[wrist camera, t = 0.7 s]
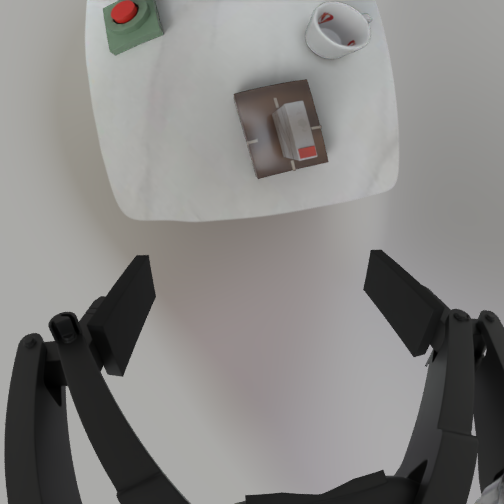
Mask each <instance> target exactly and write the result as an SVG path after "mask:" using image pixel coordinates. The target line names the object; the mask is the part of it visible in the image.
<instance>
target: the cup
mask: <svg viewBox="0 0 504 504" xmlns="http://www.w3.org/2000/svg"><path fill="white" fill-rule="evenodd" d="M371 21H372V18H371V17H370V16H369V15H368V14H367V13H364V14H361V13H360V12H359V11H358V10H356V9H355V8H353V7H351V6H350V5H347V4H345V3H341V2H335V1H331V2H325V3H322V4H320V5H319V6H318V7H317V8H316V9H315V10H314V12H313V14H312V17H311V20H310V22H309V25H308V27H307V30H306V34H305V38H306V42H307V45H308V46H309V48H310V49H311V50H312V51H313V52H314V53H315V54H317V55H319V56H321V57H323V58H328V59H336V58H340V57H342V56H345V55H347V54H349V53H352V52H354V51H356V50H359V49H361V48H363V47H365V46H366V45H367V44H368V42H369V40H370V37H371V30H370V26H369V23H370V22H371Z"/></svg>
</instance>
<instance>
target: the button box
mask: <svg viewBox="0 0 504 504" xmlns="http://www.w3.org/2000/svg"><path fill="white" fill-rule="evenodd" d="M122 1H126V0H119V1H117V2H115V3H113V4H111V5H109V6H107V7H105V8H103V13H104V20H105V26H106V32H107V38H108V44H109V49H110V52H111V53H113V54H114V55H117V54H120V53H122V52H124V51H126V50H128V49H130V48H132V47H135V46H137V45H139V44H141V43H144V42H146V41H149V40H151V39H154V38H156V37H159V36H161V35H163V31H162V27H161V23H160V19H159V15H158V11H157V7H156V4H155V0H129V1H132V2H133V3H134V4H135V5H136V7H137V9H138V11H137V14H136V16H135V17H134V18H133V19H132V20H130V21H128V22H126V23H118V22H116V21H115V20H114V19H113V18H112V17H111V11H112V9H113V8H114V7H115V6H116V5H117V4H118V3H120V2H122Z"/></svg>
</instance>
